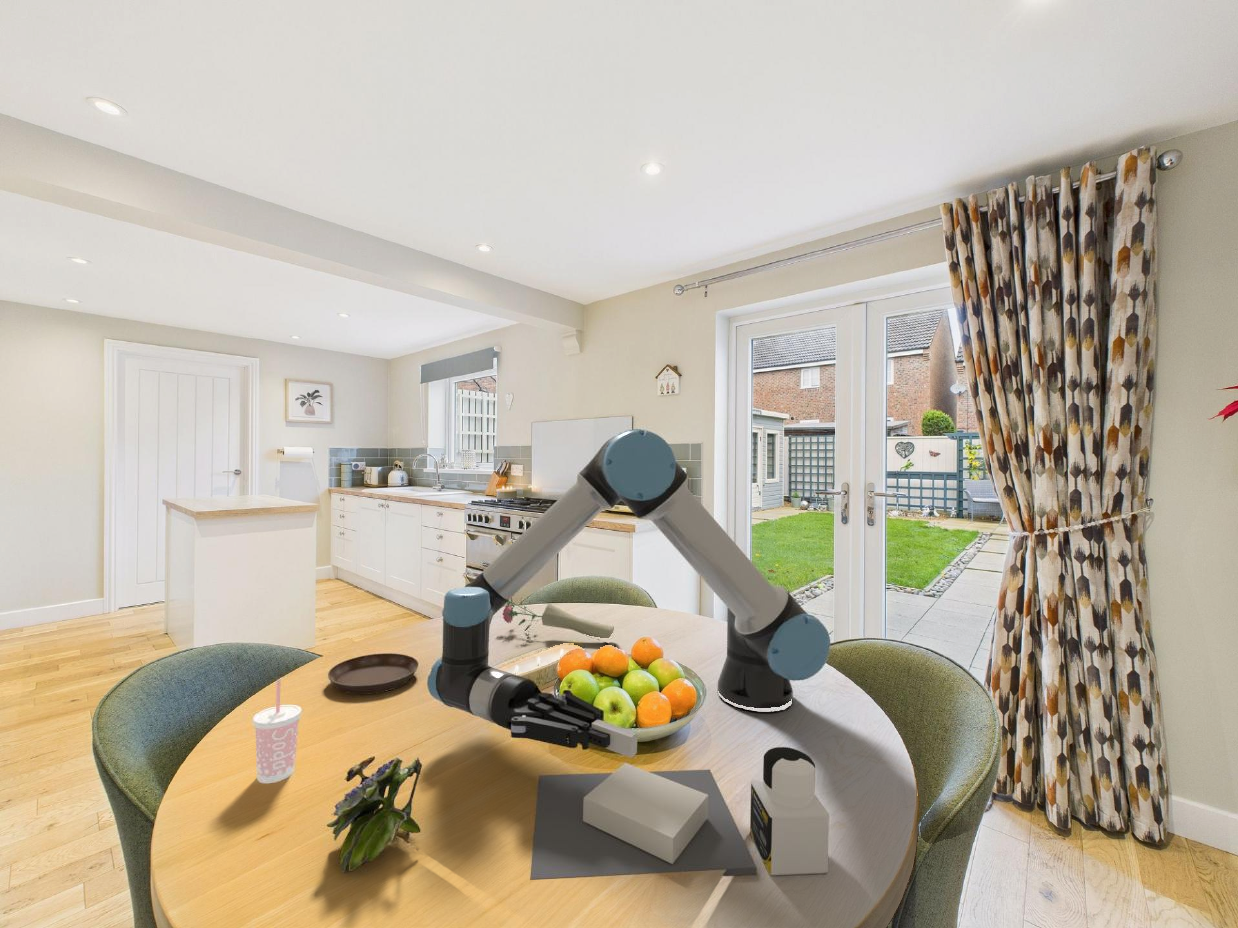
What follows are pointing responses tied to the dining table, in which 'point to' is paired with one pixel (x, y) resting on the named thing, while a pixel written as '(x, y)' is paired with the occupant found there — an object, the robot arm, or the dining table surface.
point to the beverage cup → (276, 740)
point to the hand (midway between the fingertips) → (634, 745)
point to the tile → (646, 811)
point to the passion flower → (373, 811)
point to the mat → (593, 852)
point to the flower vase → (562, 621)
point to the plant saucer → (373, 673)
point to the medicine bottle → (789, 815)
